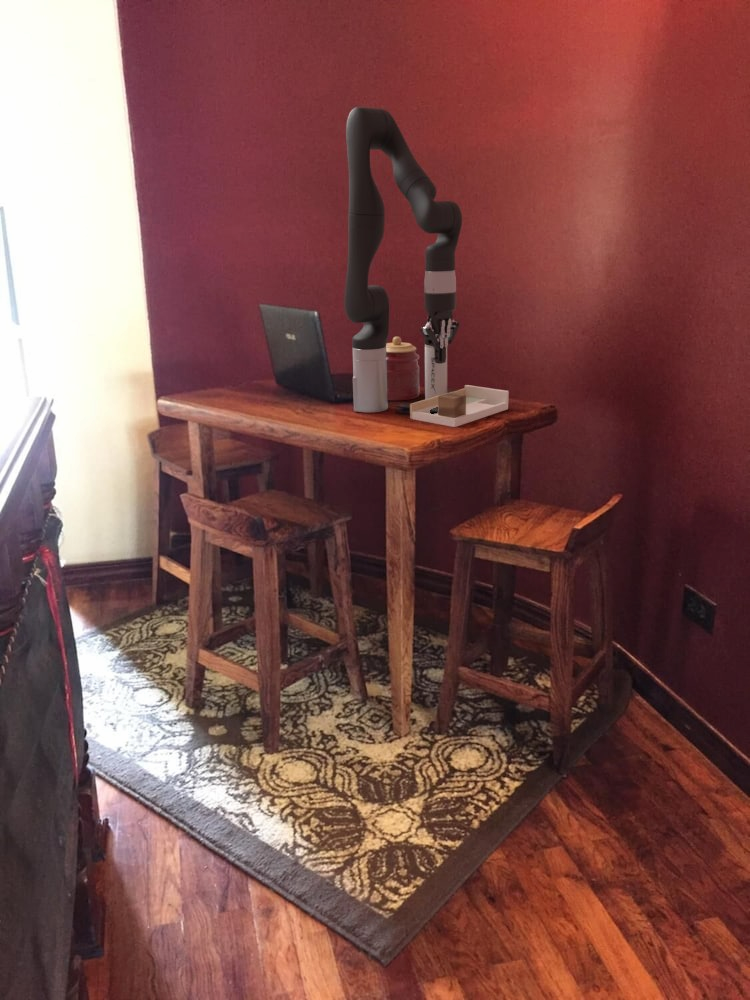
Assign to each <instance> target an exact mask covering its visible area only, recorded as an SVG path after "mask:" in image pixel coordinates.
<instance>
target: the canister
mask: <svg viewBox="0 0 750 1000" xmlns="http://www.w3.org/2000/svg"><path fill="white" fill-rule="evenodd" d="M416 351H417V347H416V346H415V345H413V344H412V343H410V342H402V338H401V337H400V336H394V337H393V338H392V342H386V356H387V399H388V401H396V402H397V401H408V400H409V401H410V400H414V399H417V398H419V396H420V392H421V390H420V389H421V388H420V366H419V364H418V362H419V359H420V355H419V354H418V353H416Z"/></svg>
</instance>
